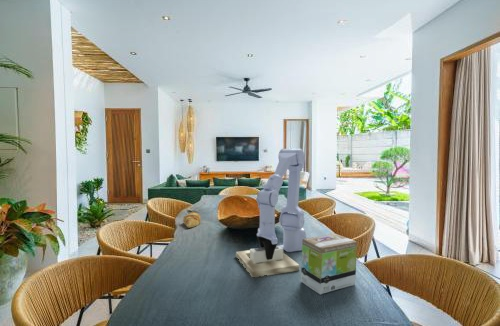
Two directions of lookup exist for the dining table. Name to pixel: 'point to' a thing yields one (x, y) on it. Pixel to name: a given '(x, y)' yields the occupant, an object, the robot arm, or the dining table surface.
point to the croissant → (191, 219)
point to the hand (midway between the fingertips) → (267, 256)
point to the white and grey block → (260, 255)
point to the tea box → (328, 262)
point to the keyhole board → (267, 265)
